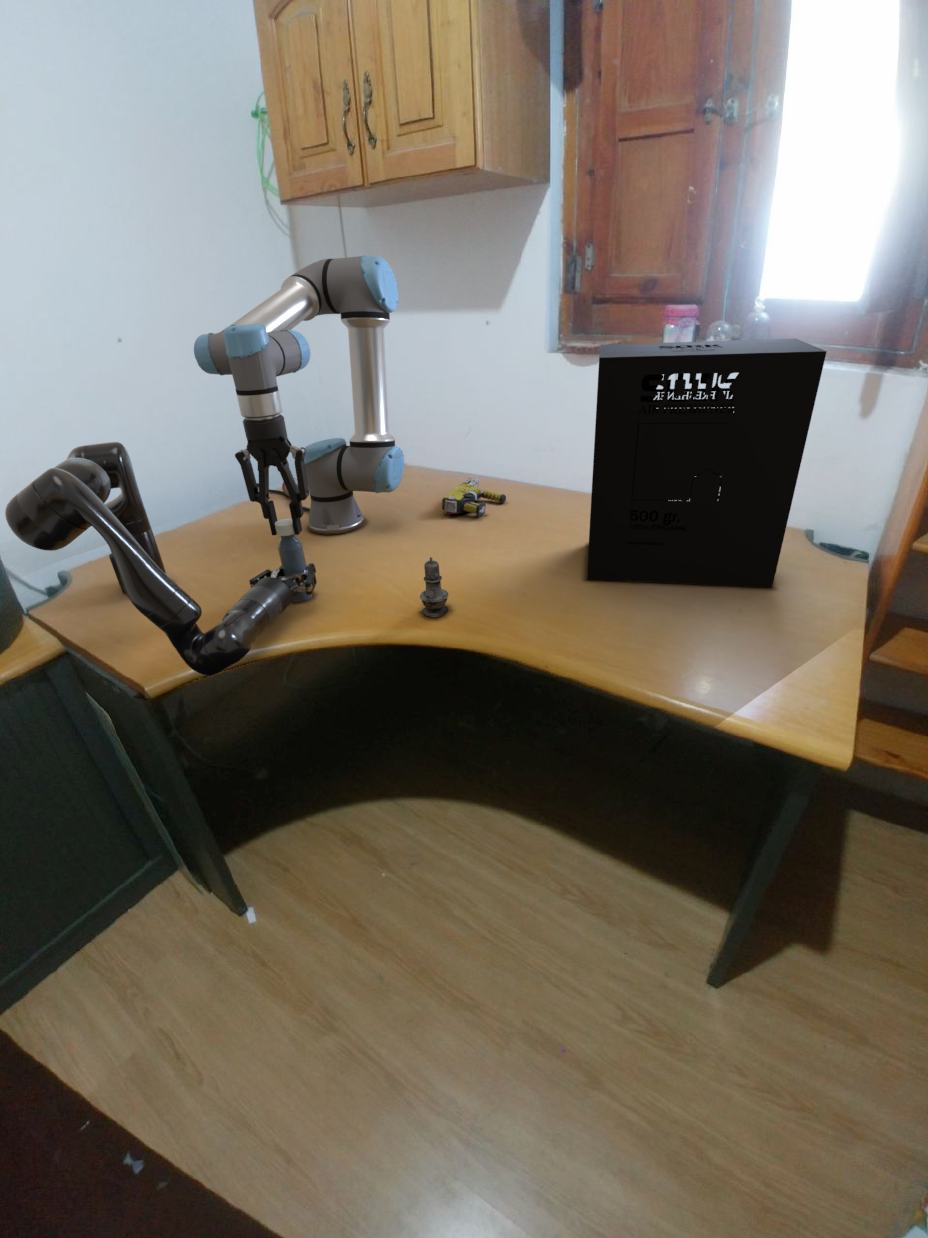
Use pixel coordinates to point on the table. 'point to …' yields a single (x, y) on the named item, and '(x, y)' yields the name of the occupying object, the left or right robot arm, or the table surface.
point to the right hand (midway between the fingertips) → (287, 532)
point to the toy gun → (468, 499)
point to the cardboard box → (698, 459)
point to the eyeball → (286, 488)
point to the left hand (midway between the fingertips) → (300, 566)
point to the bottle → (293, 561)
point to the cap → (284, 527)
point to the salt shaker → (433, 591)
